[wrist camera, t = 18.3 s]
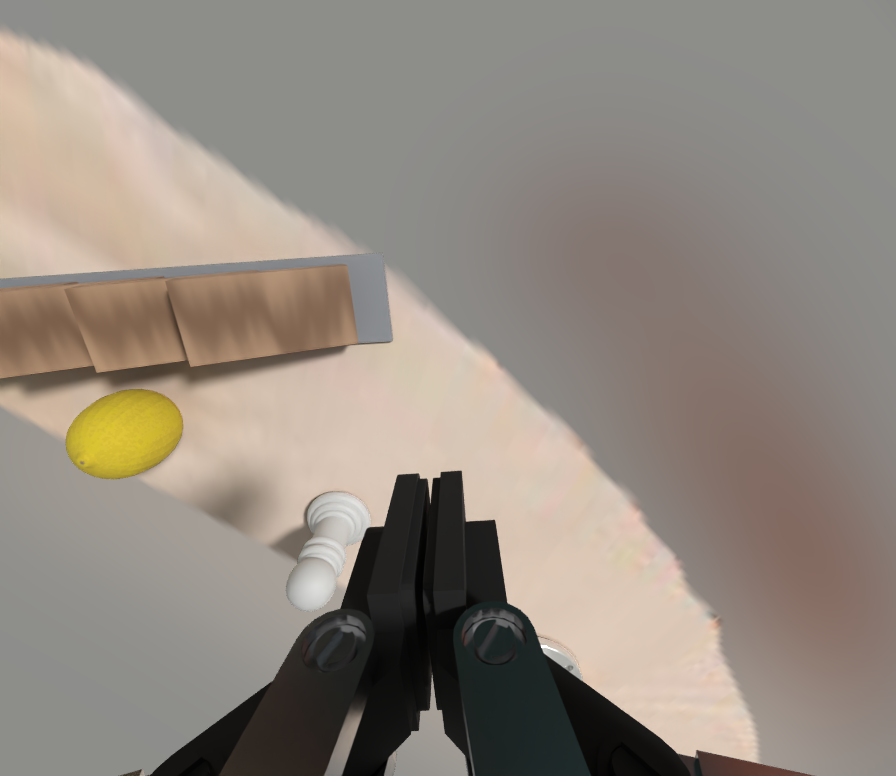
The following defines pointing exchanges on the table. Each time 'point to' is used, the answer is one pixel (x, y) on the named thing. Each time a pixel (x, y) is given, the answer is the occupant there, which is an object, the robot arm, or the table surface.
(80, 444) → the lemon
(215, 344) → the domino
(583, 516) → the table surface
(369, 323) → the grey flat board
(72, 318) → the domino
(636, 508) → the table surface
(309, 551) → the chess piece
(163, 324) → the domino
